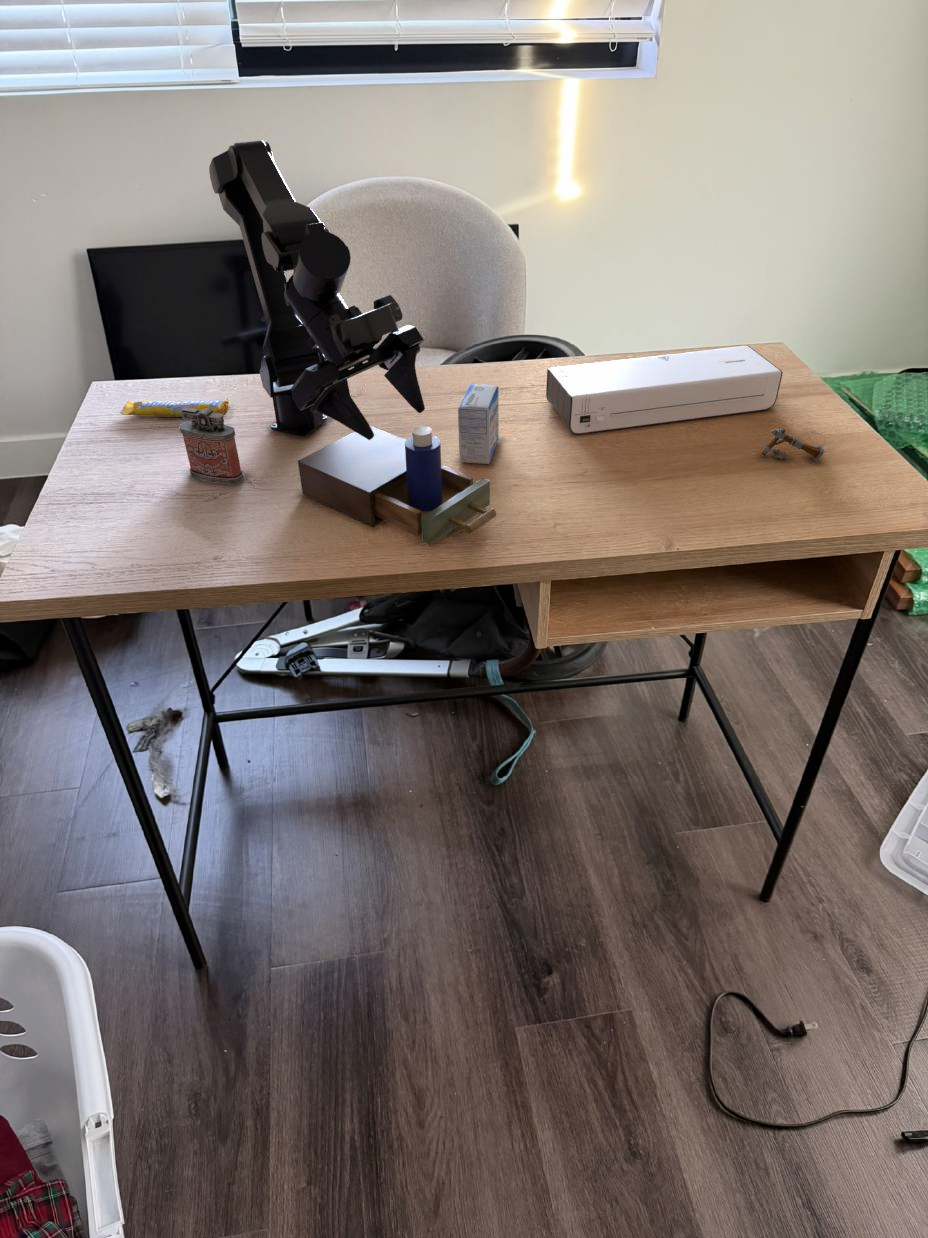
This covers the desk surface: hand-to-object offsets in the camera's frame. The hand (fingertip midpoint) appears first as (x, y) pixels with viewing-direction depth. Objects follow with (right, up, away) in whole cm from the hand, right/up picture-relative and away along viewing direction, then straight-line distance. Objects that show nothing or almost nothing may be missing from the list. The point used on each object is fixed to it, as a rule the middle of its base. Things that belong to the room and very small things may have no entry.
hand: (397, 424), depth 107 cm
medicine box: (+10, 0, +19) cm, 21 cm away
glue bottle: (+3, -9, +4) cm, 11 cm away
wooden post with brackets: (+55, -2, +16) cm, 57 cm away
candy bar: (-37, +8, +30) cm, 48 cm away
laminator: (+39, +9, +29) cm, 49 cm away
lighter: (-26, -4, +14) cm, 30 cm away
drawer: (+5, -11, +4) cm, 12 cm away
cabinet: (-4, -7, +10) cm, 13 cm away
